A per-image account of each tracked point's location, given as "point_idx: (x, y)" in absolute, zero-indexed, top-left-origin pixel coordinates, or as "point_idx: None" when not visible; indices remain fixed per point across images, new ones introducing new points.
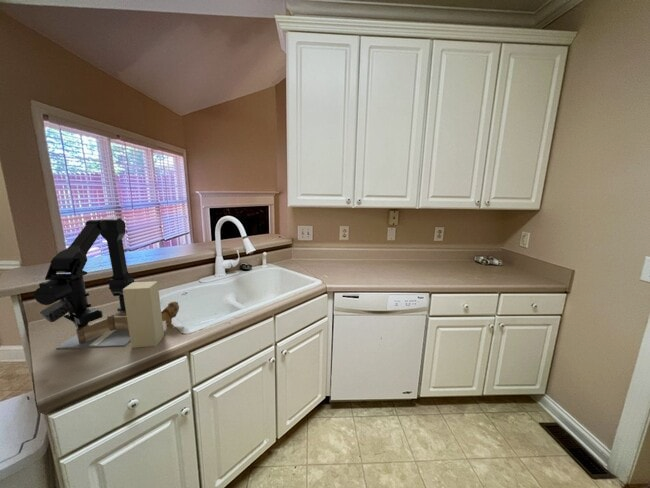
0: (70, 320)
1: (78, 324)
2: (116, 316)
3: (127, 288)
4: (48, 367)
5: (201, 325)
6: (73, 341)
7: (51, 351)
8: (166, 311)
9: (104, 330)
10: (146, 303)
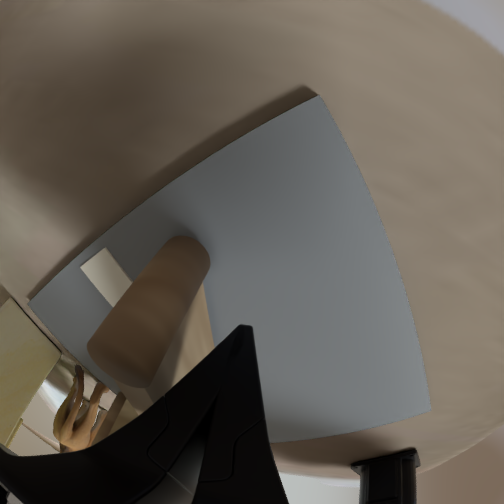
0: (11, 483)
1: (131, 427)
2: None
3: None
4: (59, 9)
5: (56, 399)
6: (296, 233)
7: (307, 50)
8: (62, 446)
9: None
10: None
